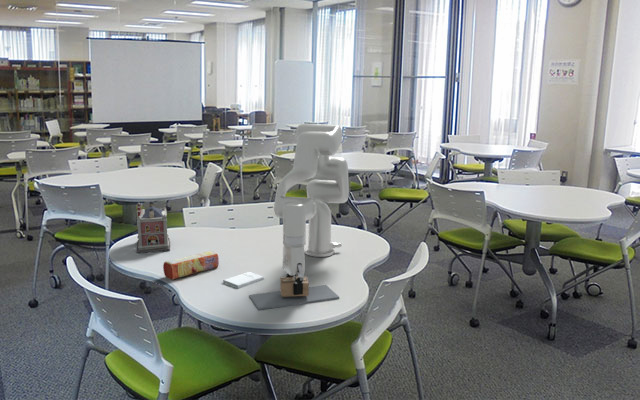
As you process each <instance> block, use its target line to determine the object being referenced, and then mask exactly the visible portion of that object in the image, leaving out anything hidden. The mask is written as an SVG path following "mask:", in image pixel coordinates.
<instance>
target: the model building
mask: <svg viewBox="0 0 640 400" xmlns="http://www.w3.org/2000/svg"><path fill="white" fill-rule="evenodd" d="M136 205H137V210H136V223H137V225H136V226H137V241H136V249H135V250H136V251H135V252H136V253H135V254H137V253H138V254H149V253H148V252H151V253H158V252H161V251H162V252H170V250H171V239H170V237H169V234H168V224H167V223H168V219H167V215H168V214H167V207H165V206H164V207H162V208H158V207H155V206H154V202H153V201H149V207H147V208H145V209H144V208H141V207H142V206H141V202H137V203H136Z"/></svg>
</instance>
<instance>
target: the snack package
mask: <svg viewBox="0 0 640 400" xmlns="http://www.w3.org/2000/svg"><path fill="white" fill-rule="evenodd" d="M219 259H220V258H219V255H218V252H215V251H211V250H209V251H205V252H201V253H195V254H193V255H188V256H185V257H180V258H176V259H172V260H171V259H170V260H166V261H164V262H163V265H162V267H163V268H162V269H163V274H164V276H165V278H167V279H169V280H171V279H172V281H173V280H176V279H179V278H183V277H186V276H189V275H193V274H197V273H201V272H205V271H208V270H213V269H216V268H218V267H219V266H220V265H219V263H220V261H219Z"/></svg>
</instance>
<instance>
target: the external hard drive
mask: <svg viewBox="0 0 640 400" xmlns="http://www.w3.org/2000/svg"><path fill="white" fill-rule="evenodd" d="M264 279H265V278H264V276H263V275H260V274H258V273H254V272H251V271H247V272H244V273H240V274H238V275H234V276H232V277H231V276H230V277H228V278H225V279H223V280H222V283H223V284H225V285H228V286H231V287H233V288H236V289H241V288H243V287H246V286H248V285H251V284H254V283H257V282H259V281H262V280H264Z"/></svg>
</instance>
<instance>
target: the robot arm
mask: <svg viewBox="0 0 640 400" xmlns="http://www.w3.org/2000/svg"><path fill="white" fill-rule="evenodd" d="M295 132H296V137H297V140H296V145H295V151H294V158H293V165H292V169H291V170H290V171H289V172H288V173H287V174H285V175H284V176H283V178H282V179H281V181H280V182H279V183H278V185H277V188H276V192H275V198H274V202H273V203H274V206H273V210H274V215H275V216H276V217H277V218H279V219H282V245H283V249H282V251H283V252H282V268H283V270H284V271H285V275H286V276H285V277H294V283H293V294H294V295H300V294H303V280H304V279H303V278H304V277H305V270H306V269H305V268H306V262H305V260H306V259H305V258H306V256H305V254H306V255H308V256H309V257H315V258H325V257H329V256H333V255H334V254H335V249H337V248H338V249H339V248H342V243H341V242H337V241H335V242H332V211H331V209H330V207H329V206H328V204H331V203H332V204H344V203H346V202H347V201H348V199H349V195H350V187H349V166H348V162H347V160H346V159H345V158H343V157H341V156H334V155H336V154H337V152H338V151H339V148H340V146H341V143H342V142H343V141H342V140H343V130H342V128H341V126H340V125H338V124H330V123H327V124H325V123H324V124H323V123H322V124H321V123H301V124H298V125H297V127H296V130H295ZM310 179H311V180H310ZM307 180H310V181H309V182H307V185H306V195H307V197H300V196H299V197H297V196H286V194H287V192H288V191H289V190H290V189H291V188H292V187H294V186H296V185H298V184H301V183H302V182H305V181H307ZM327 203H328V204H327ZM307 221H308V244H307V243H306V242H307V239H306V238H307V235H306V234H307ZM306 244H307V245H308V247H306V248H305V245H306ZM296 277H298V278H297V279H296Z"/></svg>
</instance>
